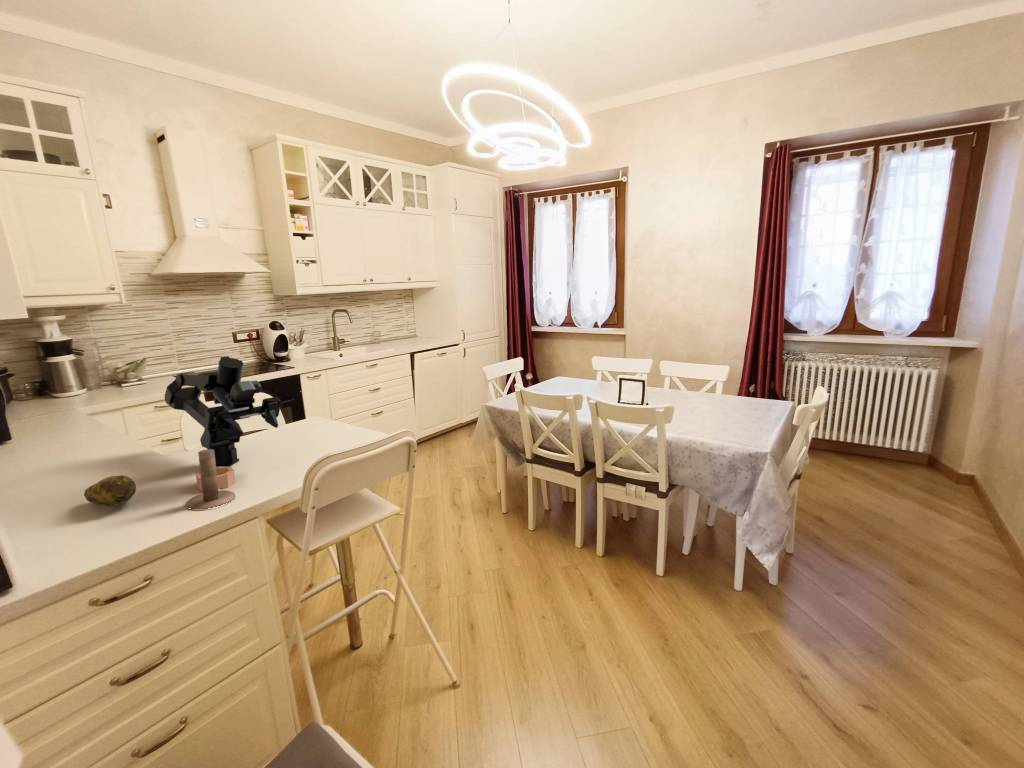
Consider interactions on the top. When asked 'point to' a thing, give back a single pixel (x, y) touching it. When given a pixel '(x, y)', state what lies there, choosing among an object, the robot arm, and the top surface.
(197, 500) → the peg on round base
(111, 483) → the avocado
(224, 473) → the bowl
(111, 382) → the top surface
